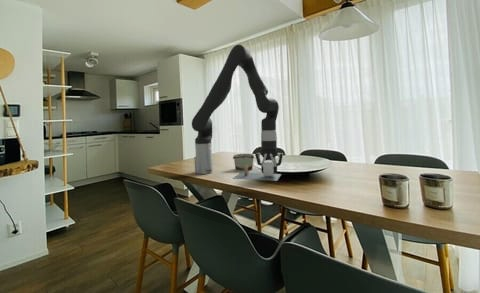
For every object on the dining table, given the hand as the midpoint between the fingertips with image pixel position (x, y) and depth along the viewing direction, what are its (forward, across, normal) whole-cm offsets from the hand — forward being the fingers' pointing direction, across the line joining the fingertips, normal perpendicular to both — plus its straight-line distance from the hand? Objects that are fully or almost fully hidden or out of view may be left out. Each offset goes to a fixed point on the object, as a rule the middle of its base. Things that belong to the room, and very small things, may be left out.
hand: (269, 173), depth 118 cm
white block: (+1, 0, 0) cm, 1 cm away
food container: (+3, -18, +17) cm, 25 cm away
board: (+3, -6, 0) cm, 7 cm away
